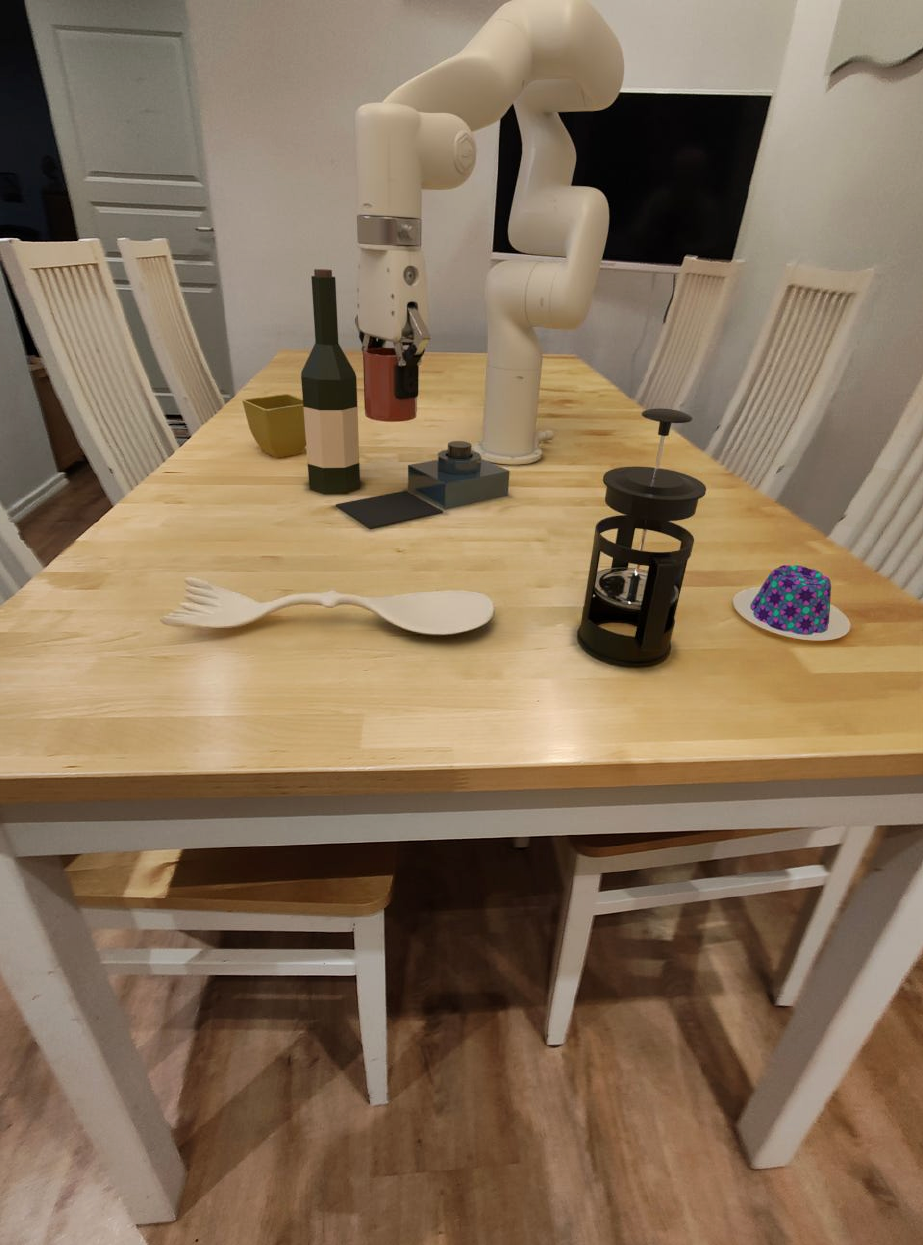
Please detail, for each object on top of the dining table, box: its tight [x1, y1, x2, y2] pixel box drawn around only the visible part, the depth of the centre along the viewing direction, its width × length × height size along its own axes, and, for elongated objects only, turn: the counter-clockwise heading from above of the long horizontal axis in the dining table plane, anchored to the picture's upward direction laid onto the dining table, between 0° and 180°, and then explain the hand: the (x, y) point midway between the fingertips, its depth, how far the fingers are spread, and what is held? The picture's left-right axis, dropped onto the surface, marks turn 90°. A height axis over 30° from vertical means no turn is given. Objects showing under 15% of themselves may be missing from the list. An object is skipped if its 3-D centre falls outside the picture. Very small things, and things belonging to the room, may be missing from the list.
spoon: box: [159, 576, 496, 636], centre depth 68 cm, size 9×32×4 cm, turn 94°
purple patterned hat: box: [732, 564, 851, 641], centre depth 73 cm, size 12×12×5 cm
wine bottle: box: [300, 268, 361, 496], centre depth 98 cm, size 8×8×30 cm
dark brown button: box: [447, 440, 473, 459], centre depth 102 cm, size 4×4×2 cm
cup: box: [362, 347, 418, 423], centre depth 88 cm, size 7×7×8 cm
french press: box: [576, 407, 707, 669], centre depth 62 cm, size 12×9×23 cm
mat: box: [335, 490, 444, 530], centre depth 98 cm, size 12×10×1 cm
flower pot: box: [241, 393, 306, 459], centre depth 117 cm, size 9×9×9 cm
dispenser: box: [407, 449, 511, 511], centre depth 104 cm, size 12×10×6 cm
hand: (390, 391), depth 89 cm, fingers closed on cup, 6 cm apart
